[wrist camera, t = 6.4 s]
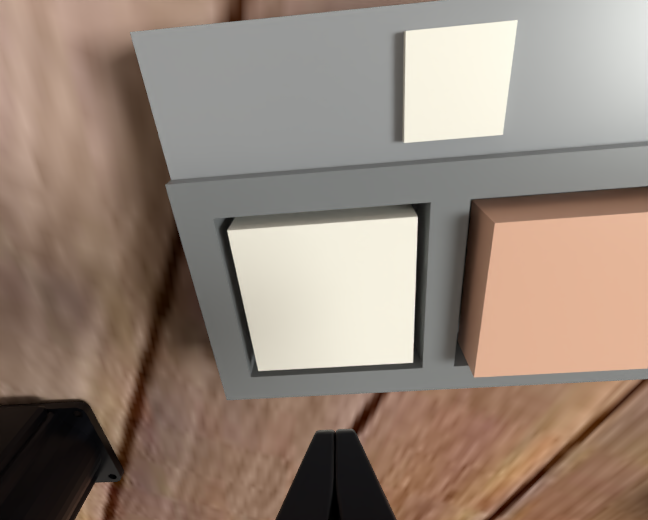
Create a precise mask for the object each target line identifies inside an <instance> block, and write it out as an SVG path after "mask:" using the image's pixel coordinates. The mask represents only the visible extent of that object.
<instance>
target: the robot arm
mask: <svg viewBox="0 0 648 520" xmlns="http://www.w3.org/2000/svg"><path fill="white" fill-rule="evenodd" d="M123 473H124V470H123V468H122V466H121V464H120V462H119V460H118V458H117V457H116V455H115V453H114V451H113V449H112V447H111V445H110V443H109V441H108V440H107V438H106V436H105V434H104V432H103V430H102V428H101V426H100V424H99V423H98V421H97V419H96V417H95V415H94V413H93V411H92V409H91V408H90V406H89V405H87V404H86V403H83V402H63V403H44V404H24V405H5V406H0V520H75V518H76V516H77V514H78V513H79V511H80V509H81V507H82V505H83V503H84V502H85V500H86V498H87V496H88V494H89V493H90V491H91V489H92V487H93V485H94V483H96V482H117V481H119V480H120V479H121V477H122V475H123ZM276 520H396V517H395V515H394V513H393V511H392V509H391V507H390V505H389V503H388V500H387V498H386V496H385V494H384V492H383V490H382V488H381V485H380V483H379V481H378V479H377V477H376V475H375V473H374V471H373V468H372V466H371V464H370V462H369V460H368V458H367V456H366V453H365V451H364V449H363V447H362V445H361V443H360V441H359V439H358V436H357V434H356V432H355V431H354V430H353V429H339V430H337V431H336V433H335V431H334V430H318V431H317V432H316V433H315V435H314V437H313V439H312V441H311V443H310V445H309V448H308V450H307V452H306V454H305V456H304V458H303V461H302V463H301V465H300V467H299V469H298V472H297V474H296V476H295V478H294V480H293V482H292V485H291V487H290V489H289V491H288V493H287V496H286V498H285V500H284V502H283V504H282V506H281V509H280V511H279V513H278V515H277V517H276Z"/></svg>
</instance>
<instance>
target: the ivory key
mask: <svg viewBox="0 0 648 520" xmlns="http://www.w3.org/2000/svg"><path fill="white" fill-rule="evenodd" d="M417 227H418V216H417V214H416V212H415V211H414V209H413V207H412V205H411V204H402V205H389V206H375V207H362V208H349V209H335V210H322V211H309V212H296V213H282V214H269V215H256V216H242V217H235V218H234V220H233V221H232V223H231V225H230V227H229V228H228V230H227V232H228V237H229V241H230V246H231V250H232V255H233V259H234V264H235V268H236V273H237V277H238V282H239V286H240V291H241V295H242V300H243V304H244V309H245V313H246V318H247V322H248V327H249V331H250V336H251V340H252V345H253V349H254V354H255V358H256V363H257V367H258V371H269V370H288V369H306V368H325V367H343V366H362V365H380V364H398V363H413V348H414V318H415V288H416V257H417Z"/></svg>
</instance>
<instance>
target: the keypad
mask: <svg viewBox="0 0 648 520" xmlns="http://www.w3.org/2000/svg"><path fill="white" fill-rule="evenodd" d="M130 34H131V38H132V41H133V45H134V48H135V52H136V56H137V59H138V63H139V66H140V70H141V74H142V77H143V81H144V84H145V88H146V92H147V95H148V99H149V102H150V106H151V110H152V113H153V117H154V120H155V124H156V128H157V131H158V135H159V138H160V142H161V146H162V149H163V153H164V156H165V160H166V163H167V167H168V171H169V174H170V178H171V180H170V181H169V182H168V183H167V184H165V186H166V190H167V193H168V197H169V200H170V204H171V207H172V211H173V214H174V218H175V221H176V225H177V228H178V232H179V235H180V239H181V242H182V245H183V249H184V252H185V256H186V259H187V263H188V266H189V270H190V273H191V277H192V280H193V284H194V287H195V291H196V294H197V298H198V301H199V305H200V308H201V312H202V315H203V319H204V322H205V326H206V329H207V332H208V336H209V339H210V343H211V346H212V350H213V353H214V357H215V360H216V364H217V367H218V371H219V374H220V378H221V381H222V385H223V388H224V392H225V395H226V399H227V400H240V399H260V398H280V397H300V396H319V395H339V394H359V393H379V392H399V391H418V390H438V389H458V388H478V387H498V386H517V385H537V384H557V383H577V382H597V381H617V380H636V379H648V369H629V370H610V371H590V372H571V373H552V374H532V375H513V376H494V377H474V376H473V374H472V372H471V370H470V368H469V365H468V363H467V361H466V359H465V356H464V354H463V352H462V350H461V348H460V345H459V343H458V331H459V322H460V312H461V302H462V292H463V282H464V273H465V263H466V253H467V243H468V233H469V224H470V214H471V204H472V200H478V199H491V198H504V197H517V196H531V195H544V194H557V193H571V192H584V191H597V190H611V189H624V188H637V187H648V0H441V1H432V2H422V3H412V4H402V5H392V6H382V7H373V8H363V9H353V10H343V11H333V12H324V13H314V14H304V15H294V16H284V17H274V18H265V19H255V20H245V21H235V22H225V23H215V24H206V25H196V26H186V27H176V28H166V29H156V30H147V31H137V32H130ZM402 204H411V205H412V207H413V209H414V211H415V212H416V214H417V216H418V227H417V257H416V288H415V318H414V348H413V363H398V364H380V365H362V366H343V367H325V368H306V369H288V370H269V371H258V367H257V363H256V358H255V354H254V349H253V345H252V340H251V336H250V331H249V327H248V322H247V318H246V313H245V309H244V304H243V300H242V295H241V291H240V286H239V282H238V277H237V273H236V268H235V264H234V259H233V255H232V250H231V246H230V241H229V237H228V232H227V230H228V228H229V227H230V225H231V223H232V221H233V220H234V218H235V217H242V216H256V215H269V214H282V213H296V212H309V211H322V210H335V209H349V208H362V207H375V206H389V205H402Z"/></svg>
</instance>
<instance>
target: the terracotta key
mask: <svg viewBox="0 0 648 520" xmlns="http://www.w3.org/2000/svg"><path fill="white" fill-rule="evenodd" d="M458 343H459V345H460V348H461V350H462V352H463V354H464V356H465V359H466V361H467V363H468V365H469V368H470V370H471V372H472V374H473V376H474V377H494V376H513V375H532V374H552V373H571V372H590V371H610V370H629V369H648V187H637V188H624V189H611V190H597V191H584V192H571V193H557V194H544V195H531V196H517V197H504V198H491V199H478V200H472V204H471V214H470V224H469V233H468V243H467V253H466V263H465V273H464V282H463V292H462V302H461V312H460V322H459V331H458Z"/></svg>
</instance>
